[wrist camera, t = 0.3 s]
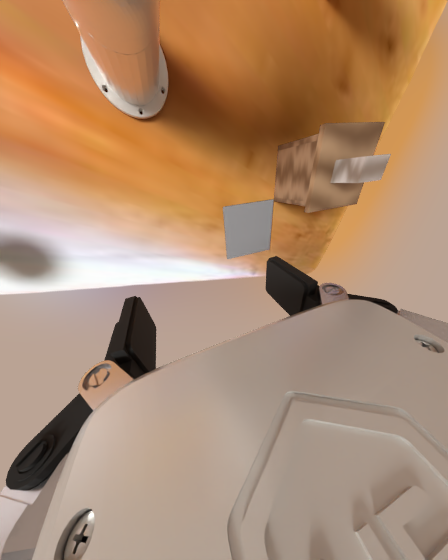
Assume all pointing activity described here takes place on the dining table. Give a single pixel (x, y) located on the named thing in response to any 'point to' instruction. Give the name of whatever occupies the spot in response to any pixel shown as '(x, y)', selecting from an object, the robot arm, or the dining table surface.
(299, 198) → the box
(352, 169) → the lid
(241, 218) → the mat
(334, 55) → the dining table surface
